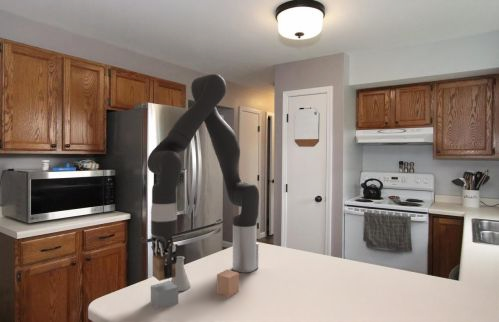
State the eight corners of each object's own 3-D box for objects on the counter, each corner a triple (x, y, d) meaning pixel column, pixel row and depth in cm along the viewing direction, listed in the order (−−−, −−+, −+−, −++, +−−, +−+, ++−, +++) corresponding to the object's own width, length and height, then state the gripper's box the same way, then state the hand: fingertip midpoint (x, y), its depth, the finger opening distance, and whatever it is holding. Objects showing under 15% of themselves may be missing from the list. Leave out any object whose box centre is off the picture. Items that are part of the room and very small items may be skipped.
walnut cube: (168, 271, 96) (168, 252, 96) (175, 276, 92) (175, 256, 92) (152, 275, 93) (152, 255, 93) (159, 280, 89) (159, 260, 89)
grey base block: (169, 296, 97) (169, 280, 97) (178, 303, 92) (178, 286, 92) (150, 302, 93) (150, 285, 93) (158, 309, 88) (158, 292, 88)
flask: (185, 293, 99) (185, 262, 99) (164, 291, 100) (164, 260, 100) (193, 284, 106) (193, 255, 106) (174, 282, 107) (174, 253, 107)
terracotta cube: (227, 287, 103) (227, 269, 103) (238, 291, 100) (238, 272, 100) (217, 292, 99) (217, 274, 99) (229, 296, 96) (229, 277, 96)
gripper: (187, 220, 89) (186, 279, 89) (166, 213, 100) (165, 265, 100) (162, 223, 84) (162, 285, 84) (142, 215, 95) (142, 270, 96)
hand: (164, 274), depth 92 cm, fingers closed on walnut cube, 5 cm apart
